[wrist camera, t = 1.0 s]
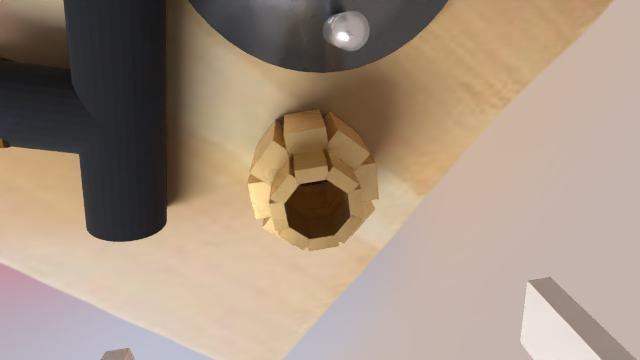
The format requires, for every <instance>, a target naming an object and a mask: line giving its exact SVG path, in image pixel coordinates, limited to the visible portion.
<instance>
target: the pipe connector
mask: <svg viewBox="0 0 640 360" xmlns="http://www.w3.org/2000/svg"><path fill="white" fill-rule="evenodd" d="M63 1H64V11H65V20H66V30H67V40H68V50H69V60H70V70H66V69H59V68H52V67H45V66H38V65H31V64H24V63H17V62H14V61H12V60H10V59H6V58H1V57H0V148H8V147H11V146H13V147H22V148H31V149H40V150H49V151H58V152H67V153H76V154H79V158H80V168H81V178H82V188H83V197H84V207H85V217H86V227H87V230H88V232H89V233H90V234H91V235H92V236H94V237H96V238H98V239H102V240H106V241H114V242H124V241H134V240H139V239H143V238H146V237H149V236H151V235H154V234H155V233H157V232H159V231H160V230H161V229H163V227H164V226H165V225H166V222H167V156H166V0H63Z"/></svg>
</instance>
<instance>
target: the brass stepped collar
mask: <svg viewBox="0 0 640 360" xmlns="http://www.w3.org/2000/svg"><path fill="white" fill-rule="evenodd" d="M321 180H325V182H324V183H322V184H316V185H310V186H303V185H301V184H303V183H309V182H315V181H321ZM247 185H248V189H249V193H250V197H251V201H252V205H253V209H254V213H255V217H256V219H260V218H264V220H263V228H264V229H266V230H268V231H269V232H271V233H273V234H275V235H276V236H278V237H280V238H281V239H283V240H285V241H287V242H288V243H290V244H292V245H296V246H297V247H299V248H301V249H303V250H304V249H305V248H306V247H308V248H309V251H313V250H319V249H325V248H330V247H336V246H339V243H338V242H342V243H345V241H346V240H347V239H348V238H349V237H350V236H352V235H353V234H354V233H355V231H356V230H357V229H358V228H359V227H360V226H361V225H362V224H363V222H364V221H365V220H366V219H367V218H368V217H369V216H370V214H371V213H372V212H373V211H374V210H375V208H374V205H373V203H372V201H371V200H375V199H379V196H378V184H377V172H376V163H375V161H374V160H373V158H372V156H371V155H370V152H369V151H368V149H367V148H366V146H365V144H364V143H363V141H362V140H361V138H360V137H359V135H358V134H357V132H356V131H355V130H354V129H352V128H351V127H350V126H348V125H347V124H346V123H344V122H343V121H341V120H340V119H339V118H337V117H336V116H335V115H333V114H332V113H331V112H328V114H327V115H326V116H325V118H324V119H323V118H322V116H321V113H320V110H319V109H316V110H309V111H303V112H297V113H290V114H284V126H283V125H282V124H281V123H279V122H278V121H276V120H275V121H274V123H273V124H272V125H271V127H270V128H269V130H268V131H267V133H266V134H265V135H264V137H263V138H262V140H261V141H260V142H259V144H258V145H257V147H256V150H255V153H254V157H253V161H252V165H251V169H250V175H249V179H248V183H247Z"/></svg>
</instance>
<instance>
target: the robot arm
mask: <svg viewBox="0 0 640 360" xmlns="http://www.w3.org/2000/svg"><path fill="white" fill-rule="evenodd" d="M520 342H521V343H522V345H523V346H524V347H525V349H526V350H527V352H528V353H529V354H530V356H531V357H532V358H533V359H534V360H636V359H635V358H634V357H633V356H632V355H631V354H630V353H629V352H628V351H627V350H626V349H625V348H624V347H623V346H622V345H621V344H620V343H619V342H617V341H616V340H615V339H614V338H613V337H612V336H611V335H610V334H609V333H608V332H607V331H606V330H605V329H604V328H603V327H602V326H601V325H600V324H599V323H598V322H597V321H596V320H595V319H593V318H592V317H591V316H590V315H589V314H588V313H587V312H586V311H585V310H584V309H583V308H582V307H581V306H580V305H579V304H578V303H577V302H576V301H574V299H573V298H572V297H571V296H569V295H568V294H567V293H566V292H565V291H564V290H563V289H562V288H561V287H560V286H559V285H558V284H557V283H556V282H555V281H554V280H553V279H552V278H551V277H549V278H543V279H536V280H530V281H528V282H527V291H526V298H525V306H524V314H523V323H522V331H521V339H520ZM101 360H135V359H134V357H133V355H132V353H131V351H130V348H125V349H119V350H113V351H107V352H105V353H104V355H103V357H102V359H101Z"/></svg>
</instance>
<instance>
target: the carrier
mask: <svg viewBox="0 0 640 360" xmlns="http://www.w3.org/2000/svg"><path fill="white" fill-rule="evenodd" d="M447 1H448V0H189V2H190V3H191V4H192V6H193V7H194V8H195V10H196V11H197V12H198V13H199V14H200V15H201V16H202V17H203V18H204V19H205V20H206V21H207V22H208V23H209V24H210V26H211V27H212V28H214V29H215V30H216V31H217V32H218V33H220V34H221V35H222V36H223V37H224V38H226V39H227V40H228V41H229V42H231V43H232V44H234V45H235V46H237V47H238V48H240V49H241V50H243V51H245V52H246V53H248V54H250V55H252V56H254V57H256V58H258V59H260V60H262V61H265V62H267V63H270V64H273V65H276V66H279V67H282V68H286V69H291V70H297V71H302V72H318V73H325V72H336V71H344V70H348V69H353V68H357V67H361V66H364V65H366V64H369V63H372V62H374V61H377V60H379V59H381V58H383V57H385V56H387V55H389V54H391V53H393V52H394V51H396V50H398V49H399V48H400V47H402V46H403V45H405V44H406V43H407V42H409V41H410V40H412V39H413V38H414V37H415V36H416V35H417V34H418V33H420V32H421V31H422V30H423V29H424V28H425V27H426V26H427V25H428V24H429V23H430V22H431V21H432V20H433V19H434V17H435V16H436V15H437V14H438V13H439V12H440V11H441V9H442V8H443V7H444V5H445V4H446V2H447Z"/></svg>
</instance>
